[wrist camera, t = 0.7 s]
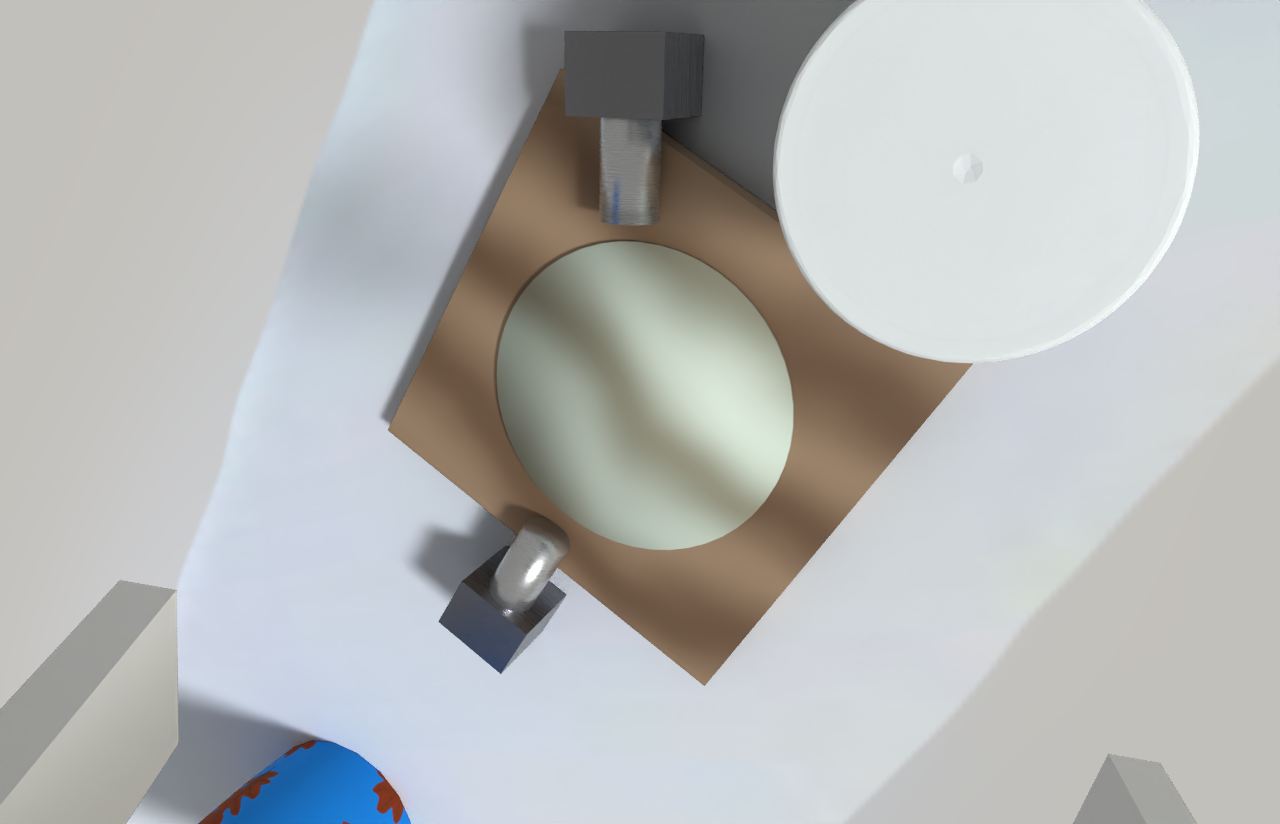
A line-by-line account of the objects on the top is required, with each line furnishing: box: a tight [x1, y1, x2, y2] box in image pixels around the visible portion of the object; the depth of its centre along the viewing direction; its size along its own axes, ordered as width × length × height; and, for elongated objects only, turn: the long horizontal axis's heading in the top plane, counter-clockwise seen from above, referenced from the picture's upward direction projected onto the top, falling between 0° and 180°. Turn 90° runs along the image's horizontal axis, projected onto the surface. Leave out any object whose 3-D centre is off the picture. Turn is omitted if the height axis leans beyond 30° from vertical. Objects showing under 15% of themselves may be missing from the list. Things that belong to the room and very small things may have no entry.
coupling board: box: [388, 69, 973, 686], centre depth 43 cm, size 20×20×2 cm
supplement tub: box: [773, 0, 1200, 363], centre depth 28 cm, size 10×10×15 cm
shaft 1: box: [439, 517, 570, 674], centre depth 48 cm, size 7×4×4 cm, turn 149°
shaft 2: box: [565, 31, 704, 225], centre depth 38 cm, size 7×4×4 cm, turn 179°
